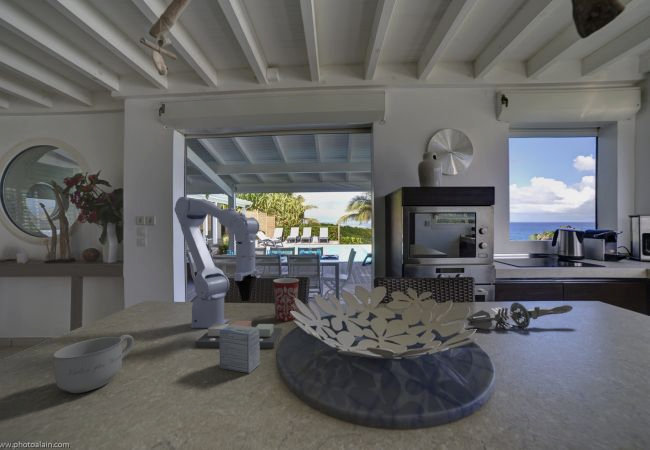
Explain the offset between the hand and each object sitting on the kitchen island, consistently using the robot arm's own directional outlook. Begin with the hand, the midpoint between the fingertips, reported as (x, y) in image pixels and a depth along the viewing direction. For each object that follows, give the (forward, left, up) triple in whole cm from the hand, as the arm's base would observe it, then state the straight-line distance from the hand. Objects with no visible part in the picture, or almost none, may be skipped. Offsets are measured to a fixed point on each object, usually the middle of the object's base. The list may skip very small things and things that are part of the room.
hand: (245, 300), depth 88 cm
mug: (+10, +15, -10) cm, 20 cm away
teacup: (-21, -30, -10) cm, 38 cm away
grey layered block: (+6, -23, -10) cm, 26 cm away
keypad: (+1, -7, -9) cm, 12 cm away
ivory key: (-5, -7, -8) cm, 12 cm away
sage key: (+8, -7, -8) cm, 13 cm away
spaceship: (+86, +6, -10) cm, 87 cm away
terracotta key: (+1, -7, -7) cm, 10 cm away
